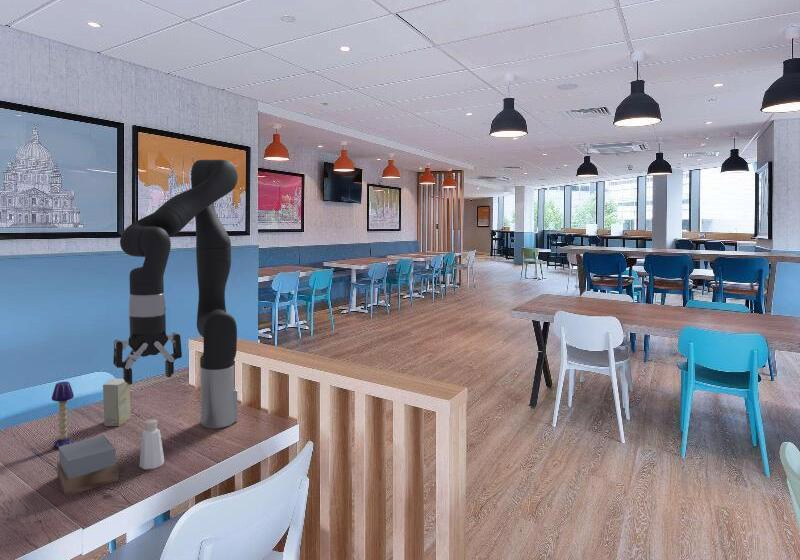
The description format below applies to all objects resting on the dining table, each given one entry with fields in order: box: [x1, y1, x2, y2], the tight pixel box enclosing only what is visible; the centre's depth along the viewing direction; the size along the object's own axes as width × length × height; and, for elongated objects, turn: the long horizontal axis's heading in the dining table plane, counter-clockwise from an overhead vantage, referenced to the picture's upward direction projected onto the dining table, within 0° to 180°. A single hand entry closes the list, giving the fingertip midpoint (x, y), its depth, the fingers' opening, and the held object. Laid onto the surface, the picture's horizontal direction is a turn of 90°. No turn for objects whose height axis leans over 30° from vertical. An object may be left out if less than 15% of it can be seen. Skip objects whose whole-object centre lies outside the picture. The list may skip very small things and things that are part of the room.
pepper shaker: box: [139, 418, 165, 470], centre depth 118 cm, size 5×5×11 cm
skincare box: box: [102, 377, 132, 427], centre depth 141 cm, size 6×4×12 cm
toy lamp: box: [51, 381, 75, 450], centre depth 126 cm, size 5×5×17 cm
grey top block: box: [58, 435, 117, 479], centre depth 110 cm, size 9×9×4 cm
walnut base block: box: [56, 461, 120, 497], centre depth 111 cm, size 10×10×4 cm
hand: (149, 380), depth 116 cm, fingers open, 8 cm apart
